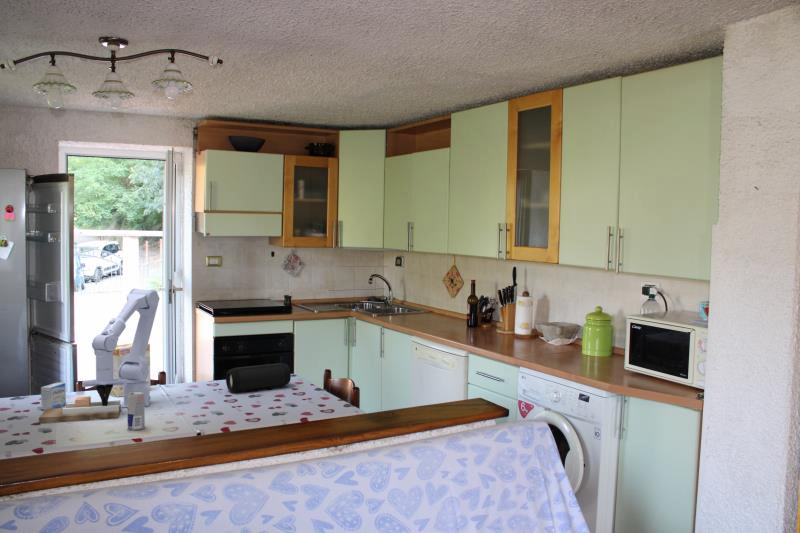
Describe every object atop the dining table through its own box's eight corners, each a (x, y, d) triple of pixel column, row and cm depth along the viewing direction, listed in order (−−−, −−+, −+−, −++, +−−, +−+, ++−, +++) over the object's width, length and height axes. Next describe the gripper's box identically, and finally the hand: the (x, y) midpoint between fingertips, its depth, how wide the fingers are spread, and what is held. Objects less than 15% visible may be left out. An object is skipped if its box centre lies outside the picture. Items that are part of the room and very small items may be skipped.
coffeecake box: (141, 387, 288) (140, 341, 287) (151, 390, 284) (150, 343, 283) (107, 394, 276) (107, 346, 275) (117, 397, 272) (117, 348, 271)
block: (90, 408, 248) (90, 396, 247) (89, 411, 243) (88, 399, 243) (77, 409, 246) (77, 396, 246) (75, 412, 242) (75, 400, 242)
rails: (120, 405, 252) (120, 400, 252) (118, 411, 244) (118, 405, 244) (66, 408, 247) (66, 403, 247) (62, 414, 239) (62, 409, 239)
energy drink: (130, 425, 234) (130, 391, 233) (146, 425, 234) (146, 390, 234) (125, 430, 228) (125, 394, 228) (142, 430, 229) (141, 394, 228)
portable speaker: (282, 383, 300) (282, 360, 300) (291, 388, 292) (291, 364, 292) (225, 390, 286) (225, 366, 286) (233, 395, 278) (233, 370, 278)
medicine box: (51, 410, 251) (51, 387, 251) (41, 410, 252) (40, 386, 252) (66, 405, 259) (65, 382, 259) (55, 404, 260) (55, 382, 259)
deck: (121, 409, 254) (120, 404, 254) (117, 418, 243) (117, 412, 243) (46, 414, 247) (45, 408, 247) (39, 423, 235) (39, 417, 235)
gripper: (80, 371, 240) (81, 409, 241) (125, 369, 244) (125, 407, 245) (83, 367, 247) (84, 404, 248) (127, 365, 251) (127, 402, 252)
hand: (105, 405), depth 247 cm, fingers closed
